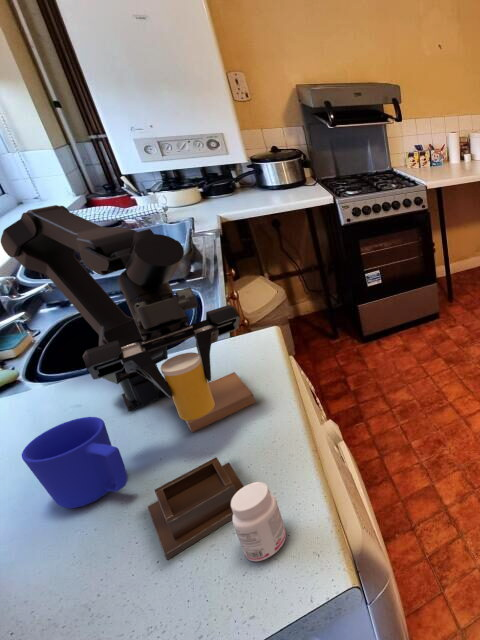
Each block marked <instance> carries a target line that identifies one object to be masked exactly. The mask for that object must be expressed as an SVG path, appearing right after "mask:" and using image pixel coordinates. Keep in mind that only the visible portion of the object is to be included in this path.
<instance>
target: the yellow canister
mask: <svg viewBox="0 0 480 640" xmlns="http://www.w3.org/2000/svg"><path fill="white" fill-rule="evenodd" d="M160 372H161V374H162V375H163V377H164V379H165V380H166V382H167V384H168V385H169V387H170V390H171V392H172V395H173V397H171V398H172V401H173V403H174V406H175V408H176V411H177V414H178V416H179V419H180V420H183V421H185V420H194V419H197V418H200V417H202V416H204V415H206V414H208V413H209V412H210V411H211V410H212V409H213V408H214V406H215V402H214V399H213V396H212V393H211V390H210V387H209V384H208V383H209V382H208V381H207V379H206V376H205V373H204V369H203V366H202V363H201V358H200V355H199V354H198V352H193V351H192V352H184V353H180V354H177V355H174V356H172V357H170V358H168V359H166V360H164V362H163V363H161V365H160Z"/></svg>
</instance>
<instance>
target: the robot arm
mask: <svg viewBox="0 0 480 640" xmlns="http://www.w3.org/2000/svg"><path fill="white" fill-rule="evenodd" d="M0 245H1V247H2V249H3V250H4V253H6V255H7V256H8V257H10V258H12V259H13V258H14V259H15V261H17V262H18V263H19V264H20V265H21V266H22V268H24V269H28V270H31V271H34V272H37V273H41V274H44V275H46V276H47V277H48V279H49V280H50V281H51V282H52V283H53V284H54V286H55V287H56V288H57V289H58V290H59V291H60V292H61V293H62V295H63V296H64V297H65V298H66V299H67V300H68V301H69V303H70V304H71V305H72V306H73V307H74V308H75V310H76V311H77V312H78V313H79V314H80V315H81V316H82V317H83V318H84V320H85V321H86V322H87V324H89V325H90V327H91V328H92V330H94V331H95V332H96V333H97V335H98V346H94V347H92V348H89V349H85V351H84V353H83V355H82V360H83V362H84V365H85V367H86V369H87V371H88V372H89V374H90V377H91V378H92V379H93V380H100V379H103V380H106V381H108V382H110V383H113V384H115V385H119V384H120V387H121V389H122V392H123V393H122V394H121V397H122V399H123V402H124V404H125V406H126V409H127V411H133V410H136V409H138V408H140V407H143V406H145V405H148V404H150V403H152V402H155V401H157V400H160V399H162V398H164V397H168V398H169V399H170V398H172V397H173V395H172V392H171V390H170V387H169V385H168V384H167V382H166V379H165V377H164V375H163V374H162V372H161V370H159V369H160V368H159V367H158V364H159V363H161V362H163V361H166V360H168V359H169V354H168V346H171V345H173V344H176V343H179V342H182V341H184V340H188V339H191V338H193V337H194V338H195V347H196V350H197V353H198V354H199V355H200V358H201V363H202V366H203V369H204V373H205V376H206V379H207V381H208V383H209V382H212V369H211V348H212V344H215V343H217V342H218V341H219V337H220V336H223V335H227V334H229V333H232V332H235V331H236V330H238V329H239V327H240V322H241V321H240V320H241V315H240V313H239V310H238V309H237V307H236V306H234V305H232V304H226V305H223V306H221V307H218V308H214V309H212V310H211V309H210V310H208V311H206V312H205V319H204V320H201V321H199V322H195V323H192V324H188V323H189V319H190V318H189V317H188V314H187V313H186V311H187V312H188V311H190V310H193V309H196V308H198V307H199V303H198V300H197V297H196V295H195V293H194V291H193V289H192V287H191V286H190V287H186V288H182V289H178V290H176V292H175V293H174V291H173V288H172V286H171V284H170V281H171V280H172V279H173V278H174V276H175V273H176V271H177V269H178V268H179V266H180V263H181V261H182V260H183V257H184V253H185V250H184V247H183V245H182V243H181V242H180V241H179V240H177V239H175V238H173V237H171V236H168V235H165V234H158V233H154V232H153V231H152V229H151V228H147V229H142V230H139V231H137V230H135V229H132V228H128V227H123V226H114V227H113V226H112V227H106V226H101V225H99V224H97V223H95V222H93V221H91V220H88V219H85V218H84V217H81V216H79V215H77V214H75V213H73V212H70V210H69V209H68V208H67V206H64V205H57V204H53V205H49V206H43V207H38V208H35V209H34V208H33V209H29V210H27V211H26V212H23V213H22V214H21V216H20V218H19V219H18V220H16V221H15V222H13V223H12V224H10V225H8V226H7V227H6V228H4V229H3V230H2V234H1V237H0ZM76 252H77V253H79V256H80V259H81V262H82V263H83V264H82V263H81V262H80V261H79V260H78V259H77V256H76ZM84 266H85V267H86V268H87V269H88V270H89V271H92V272H95V274H97V275H100V276H106V275H109V274H113V273H116V272H119V271H122V270H123V271H122V272H121V273H120V274H119V276H118V278H117V283H118V285H119V289H120V291H121V292H122V295H123V297H124V300H125V302H126V304H127V307H128V309H129V312H130V314H131V316H132V317H131V316H128V315H127V314H126V313H125V312H124V311H123V310H122V308H120V306H119V305H118V304H117V303H116V302H115V301H114V300H113V299H112V298H111V296H110V295H109V294H108V293H107V292H106V291H105V290H104V288H103V287H102V286H101V285H100V284H99V282H98V281H97V280H96V279H95V278H94V277H93V276H92V275H91V274H90V272H89V271H88V270H87V269H86V268H85V267H84Z"/></svg>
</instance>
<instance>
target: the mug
mask: <svg viewBox="0 0 480 640" xmlns="http://www.w3.org/2000/svg"><path fill="white" fill-rule="evenodd" d="M21 458H22V461H23V462H24V463H25V465H26V466H27V467H28V469H29V470H30V471H31V473H32V474H33V475H34V476H35V478H36V479H37V480H38V482H39V483H40V484H41V486H42V487H43V488H44V489H45V491H46V492H47V493H48V495H49V496H50V497H51V499H52V500H53V501H54V502H55V504H57V506H59V507H61V508H65V509H75V508H79V507H80V508H81V507H83V506H86V505H89V504H92V503H93V502H96V501H97V500H99V499H100V498H102V497H104V496H105V495H106V494H107V493H109V492H118V491H121V489H123V488H124V487H125V486H126V485H127V483H128V473H127V470H126V466H125V463H124V460H123V457H122V454H121V452H120V449H119V448H118V447H117V446H115V445H112V443H111V440H110V436H109V433H108V430H107V427H106V424H105V421H104V420H103V419H102V418H101V417H96V416H86V417H84V416H83V417H79V418H74V419H71V420H69V421H68V420H67V421H65V422H62V423H60V424H58V425H55V426H53V427H51V428H49V429H47V430H46V431H44V432H42V433H41V434H39V435H37V436H35V438H34V439H32V440H31V441H30V442H29V443H28V444H27V445H26V446H25V447H24V448H23V451H22V452H21Z"/></svg>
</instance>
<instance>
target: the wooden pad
mask: <svg viewBox="0 0 480 640" xmlns="http://www.w3.org/2000/svg"><path fill="white" fill-rule="evenodd" d="M208 384H209V387H210V390H211V393H212V396H213V399H214V402H215V406H214V408H213V409H212V410H211V411H210V412H209V413H208V414H206V415H204V416H202V417H200V418H197V419H194V420H184V421H185V423H186V425H187V427H188V428H189V430H190V431H191V433H194V432H197V431H198V430H200V429H203V428H205V427H207V426H209V425H211V424H213V423H215V422H218V421H219V420H221V419H224V418H226V417H228V416H230V415H232V414H235V413H236V412H238V411H240V410H242V409H244V408H245V409H246V408H247V407H249V406H250V405H251V406H252V405H253V404H255V403H256V400H255V397H254V393H253V392H252V390H250V388H248V386H247V385H246V384H245V383H244V382H243V380H242V379H241V378H240V376H239V375H238V374H237V373H236V372H235V371H233V372H231V373H229V374H226V375H224V376H222V377H219V378H217V379H214V380H211V381H209V382H208Z"/></svg>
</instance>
